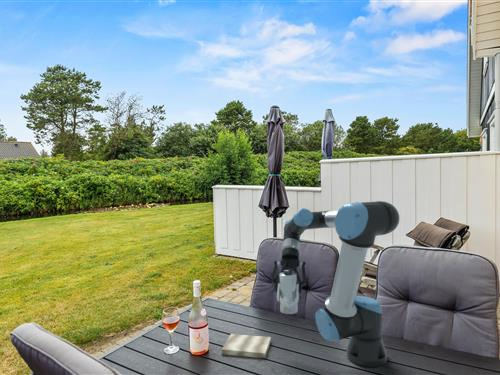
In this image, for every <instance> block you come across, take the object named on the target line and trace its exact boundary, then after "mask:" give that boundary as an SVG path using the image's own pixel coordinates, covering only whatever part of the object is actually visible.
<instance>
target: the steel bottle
mask: <svg viewBox="0 0 500 375" xmlns="http://www.w3.org/2000/svg"><path fill="white" fill-rule="evenodd" d="M283 271H284V272H282V273H280V272H279V274H278V276H279V278H280V300H279V308H280V310H279V311H280V313H282V314H285V315H293V314H297V313H298V302H297V301H296V291H297V284H298V281H297V274H296V273H294V271H292V270H291V269H285V270H283Z"/></svg>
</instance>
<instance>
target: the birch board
mask: <svg viewBox="0 0 500 375" xmlns="http://www.w3.org/2000/svg"><path fill="white" fill-rule="evenodd" d="M271 343H272V337H271V336H265V335H264V336H261V335H248V334H236V333H231V334H230V335H229V336H228V338H227V340H226V342H225V343H224V345H223V346H222V348H221V355H225V356H228V355H229V356H237V357H246V358H247V357H248V358H249V357H250V358H258V359H266V357H267V354H268V352H269V349H270V345H271Z"/></svg>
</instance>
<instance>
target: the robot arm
mask: <svg viewBox="0 0 500 375" xmlns="http://www.w3.org/2000/svg"><path fill="white" fill-rule="evenodd" d="M399 223H400V214H399V211H398V209H397V207H395V206H394V205H393V204H392V203H390V202H387V201H381V200H380V201H379V200H377V201H366V202H365V201H363V202H358V201H356V202H350V203H346V204H343V205H342V206H340V208H339V209H337V210H336V209H335V210H321V211H311V210H309V209H307V208H304V207H303V208H300V209H298V210H297V211H296V213H294V215H293V216H292V218H291V219H288V220H286V221H285V222H284V226H283V236H282V238H283V240H282V248H281V249H282V251H281V259H280V261H277V260H275V261H274V262H273V264H274V267H273V272H272V275H271V284H272V285H274V286H275V287H274V292H275V293H276V300H277V302H280V278H279V275H278V271H279V268H280V265H281V270H280V271H279V274H280V273H282V272H284V271H283V270H285V269H291V270H292V272H294V273H296V274H297V291H296V301H297V303H299V300H300V295H301V294H302V293H303V292H302V290H303V287H305V286H307V278H306V267H307V262H306V261H303V262H302V261H300V248H301V247H300V246H301V244H300V243H301V242H300V241H301V235H303V234H304V232H305V231H306V230H313V229H314V230H315V229H324V228H327V229H329V228H330V229H331V228H334V229H335V231H336V234H337V235H338V239H339V240H340V241H341V247H340V252H339V256H338V261H337V266H336V270H335V274H334V278H333V284H332V288H331V294H330V296H328V297H326V299H325V300H324V305H323V308H319V309H318V310H316V312H315V316H314V317H315V324H316V327H317V329H318V332H319V333H320V335H321V336H322V337H323V339H325V340H326V341H328V342H335V341H336V342H338V341H340V340H343V339H348V338H349V340H348V343H347V346H346V357H347V359H348V360H349V361H351V362H352V363H353V364H356V365H358V366H361V367H368V368H377V367H383V366H384V365H386V364H387V362H388V353H387V350H386V347H385V344H384V342H383V333H382V332H383V328H382V327H383V321H382V319H383V318H382V316H383V312H382V304H381V302H380V301H378V299H377V300H376V299H375V298H372V297H369V296H364V295H357V293H358V290H359V286H360V285H359V284H360V282H361V281H360V280H361V277H362V274H363V268H364V265H365V261H366V257H367V253H368V250H369V249H371V248H372V247H374V244H375V241H376V237H378V236H384V235H387V234H390V233H393V231H395V230H396V229H397V227H398V225H399ZM299 266H300V268H301V272H302V273H301V274H302V280H301V278H300V275H299V271H298V269H297V268H298V267H299Z"/></svg>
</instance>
